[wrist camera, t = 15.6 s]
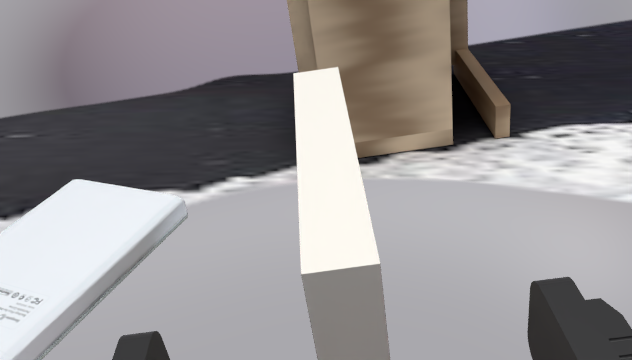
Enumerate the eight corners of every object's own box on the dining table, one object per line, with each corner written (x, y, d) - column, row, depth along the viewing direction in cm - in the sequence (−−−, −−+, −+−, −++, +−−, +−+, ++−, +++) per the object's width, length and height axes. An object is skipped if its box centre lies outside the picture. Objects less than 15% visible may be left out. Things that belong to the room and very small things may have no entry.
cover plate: (350, 528, 17) (301, 273, 12) (326, 274, 26) (293, 73, 22) (407, 522, 17) (379, 263, 12) (363, 269, 26) (337, 66, 21)
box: (313, 164, 35) (281, -33, 29) (308, 94, 43) (282, -68, 37) (509, 136, 34) (515, -70, 29) (465, 71, 43) (463, -97, 37)
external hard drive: (190, 221, 32) (2, 404, 23) (80, 200, 36) (-121, 352, 27) (183, 195, 32) (-16, 375, 22) (70, 177, 35) (-141, 326, 26)
